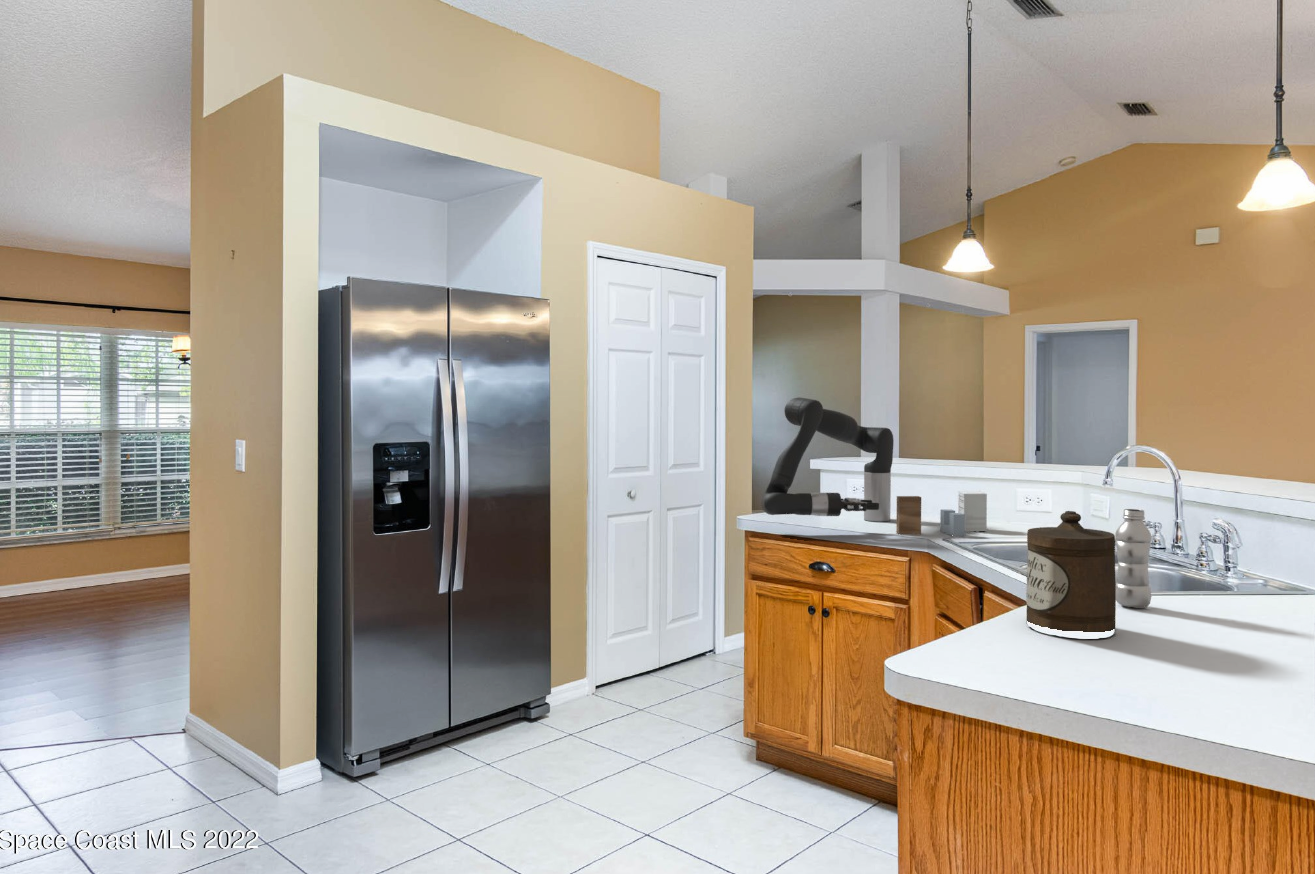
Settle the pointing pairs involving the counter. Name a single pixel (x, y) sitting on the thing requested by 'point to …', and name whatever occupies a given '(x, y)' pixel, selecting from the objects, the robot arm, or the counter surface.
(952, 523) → the slotted base
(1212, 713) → the counter surface
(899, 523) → the walnut plate
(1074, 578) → the wooden container
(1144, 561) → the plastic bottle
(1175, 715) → the counter surface
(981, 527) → the supplement box
